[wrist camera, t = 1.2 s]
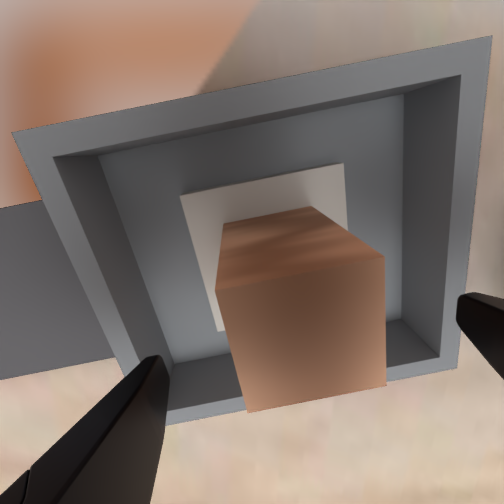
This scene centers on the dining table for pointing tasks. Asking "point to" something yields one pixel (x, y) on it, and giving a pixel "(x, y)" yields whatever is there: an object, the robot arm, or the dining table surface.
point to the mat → (42, 298)
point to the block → (301, 308)
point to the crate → (270, 203)
